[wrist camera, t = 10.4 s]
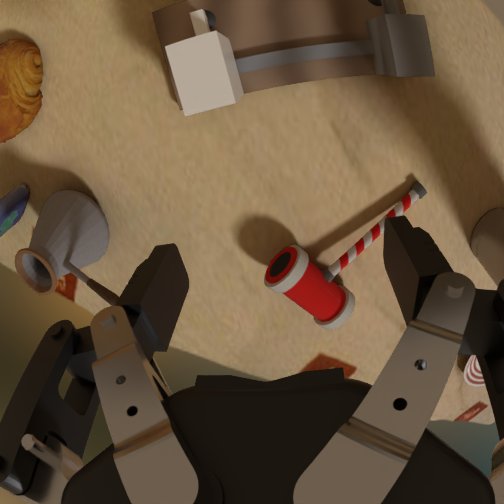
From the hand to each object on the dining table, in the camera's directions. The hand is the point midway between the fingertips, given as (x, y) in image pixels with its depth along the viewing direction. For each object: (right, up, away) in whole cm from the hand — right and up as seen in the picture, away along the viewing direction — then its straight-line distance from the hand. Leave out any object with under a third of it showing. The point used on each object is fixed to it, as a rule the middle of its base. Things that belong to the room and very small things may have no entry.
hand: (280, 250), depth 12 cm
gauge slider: (-5, +19, +15) cm, 25 cm away
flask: (-38, +8, +27) cm, 47 cm away
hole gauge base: (+3, +23, +15) cm, 27 cm away
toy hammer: (+11, +1, +29) cm, 31 cm away
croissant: (-34, +23, +18) cm, 45 cm away
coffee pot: (-20, +4, +29) cm, 36 cm away
